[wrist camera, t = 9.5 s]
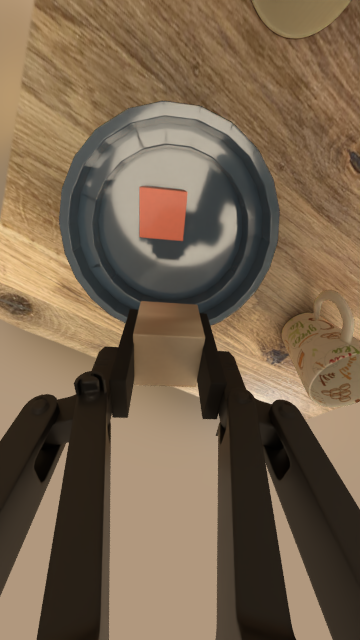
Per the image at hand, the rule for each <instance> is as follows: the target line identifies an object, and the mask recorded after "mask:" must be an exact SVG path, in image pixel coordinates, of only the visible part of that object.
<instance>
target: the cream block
mask: <svg viewBox="0 0 360 640" xmlns="http://www.w3.org/2000/svg"><path fill="white" fill-rule="evenodd" d="M204 342H205V335H204V331H203V327H202V322H201V318H200V314H199V309H198V305H194V304H178V303H163V302H148V301H141V302H140V306H139V311H138V315H137V319H136V324H135V328H134V332H133V343H134V385H151V386H181V387H196V384H197V377H198V372H199V367H200V361H201V356H202V351H203V346H204Z"/></svg>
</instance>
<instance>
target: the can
mask: <svg viewBox="0 0 360 640" xmlns="http://www.w3.org/2000/svg"><path fill="white" fill-rule="evenodd" d="M350 1H351V0H252V2H253V5H254V7H255V9H256V11H257V13H258V15H259V16H260V18H261V20H262V21H263V22H264V23H265V24H266V25H267V27H268V28H269V29H271V30H272V31H273V32H275V33H276V34H278V35H280V36H283V37H286V38H294V39H296V38H304V37H308V36H310V35H313V34H315V33H317V32H319V31H320V30H322V29H324V28H325V27H326V26H328V25H329V24H330V23H332V22H333V21H334V20H335V19H336V18H337V17H338V16H339V15H340V14H341V13H342V12H343V10H344V9H345V8H346V7H347V5H348V4H349V3H350Z"/></svg>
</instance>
